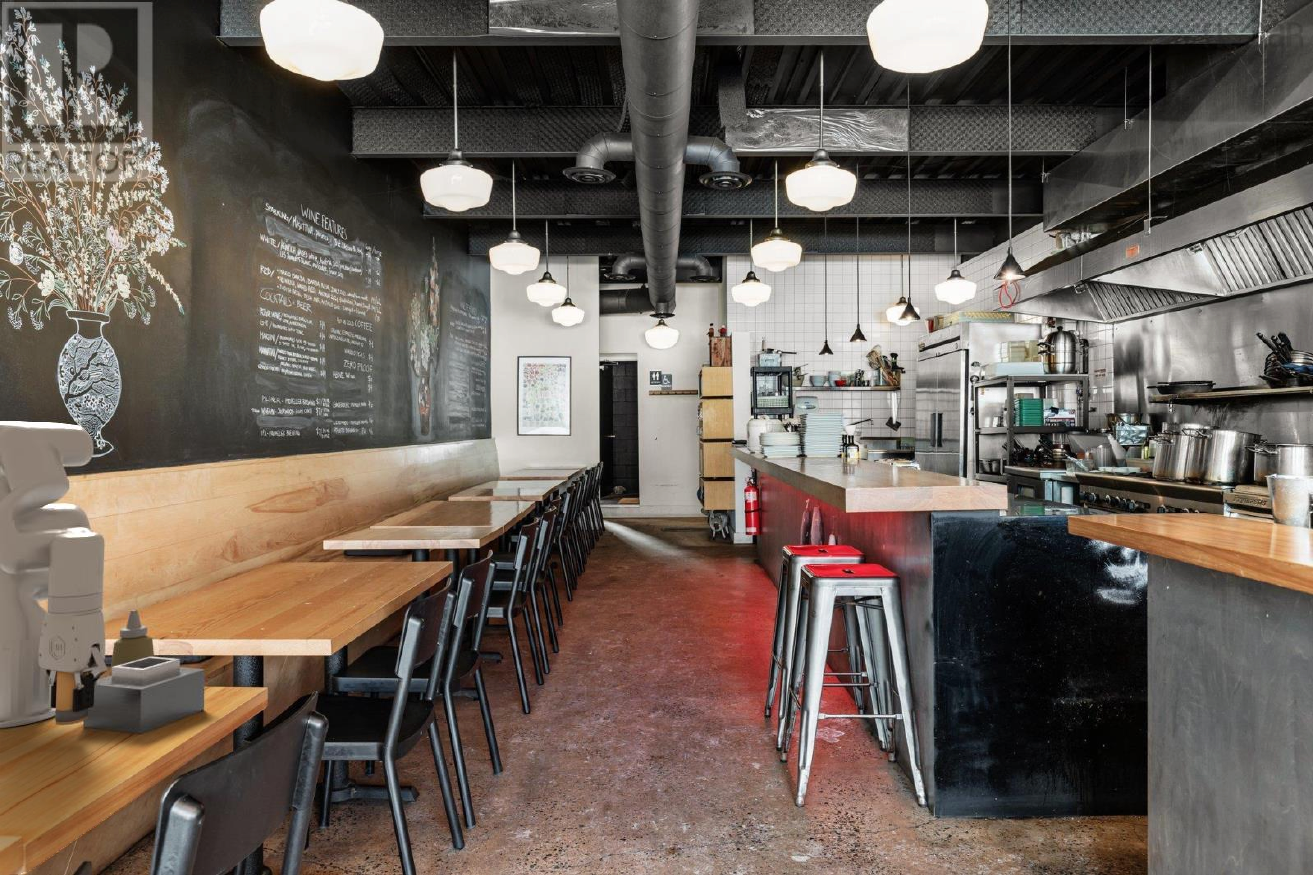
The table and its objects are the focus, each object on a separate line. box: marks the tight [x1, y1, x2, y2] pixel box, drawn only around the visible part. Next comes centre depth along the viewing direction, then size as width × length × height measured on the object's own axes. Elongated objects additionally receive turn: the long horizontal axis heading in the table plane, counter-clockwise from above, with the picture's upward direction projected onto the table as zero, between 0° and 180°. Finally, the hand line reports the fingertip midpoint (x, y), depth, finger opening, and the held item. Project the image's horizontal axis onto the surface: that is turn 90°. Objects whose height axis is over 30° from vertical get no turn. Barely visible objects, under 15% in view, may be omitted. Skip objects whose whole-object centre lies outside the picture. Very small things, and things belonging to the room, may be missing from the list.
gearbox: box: [82, 656, 206, 735], centre depth 138 cm, size 14×13×10 cm
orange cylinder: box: [54, 666, 88, 726], centre depth 126 cm, size 4×4×9 cm
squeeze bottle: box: [109, 609, 155, 676], centre depth 151 cm, size 8×8×18 cm
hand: (72, 706), depth 126 cm, fingers closed on orange cylinder, 4 cm apart
